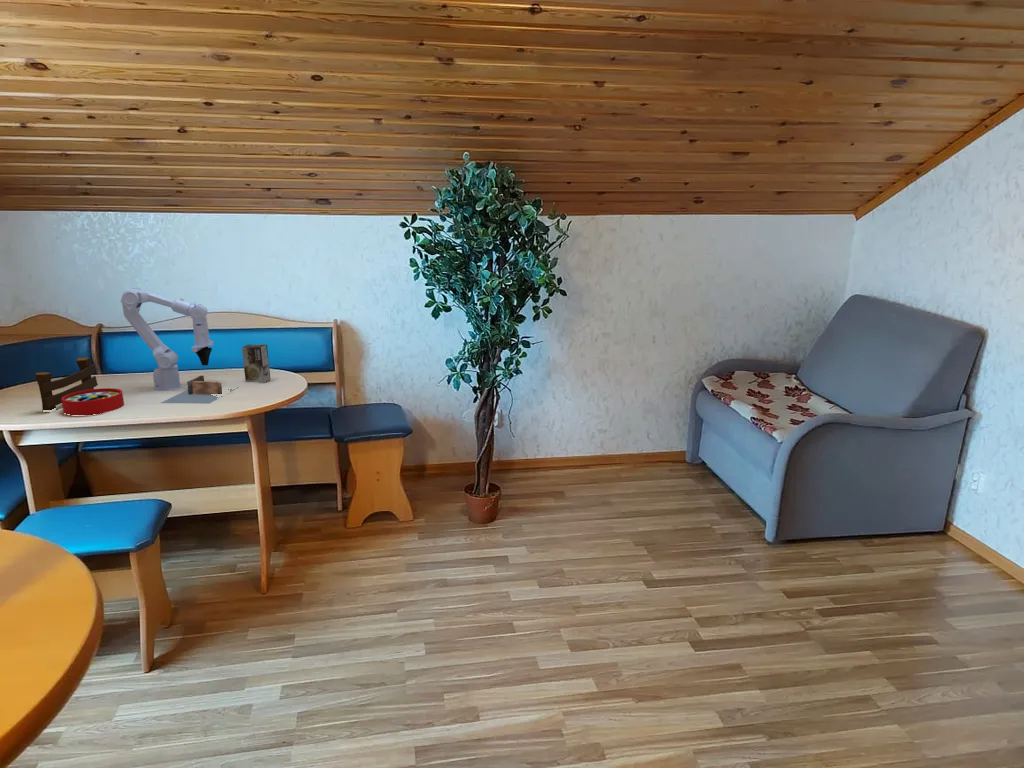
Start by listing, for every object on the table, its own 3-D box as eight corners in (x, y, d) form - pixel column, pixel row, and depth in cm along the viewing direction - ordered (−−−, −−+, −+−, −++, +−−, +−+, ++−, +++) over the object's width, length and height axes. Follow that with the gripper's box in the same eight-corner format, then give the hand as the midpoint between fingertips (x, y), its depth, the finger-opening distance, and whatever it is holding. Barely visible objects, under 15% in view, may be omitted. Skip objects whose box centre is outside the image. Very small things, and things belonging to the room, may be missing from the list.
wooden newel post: (192, 393, 280) (191, 382, 278) (194, 392, 281) (193, 381, 280) (221, 394, 278) (219, 382, 277) (223, 393, 280) (221, 381, 279)
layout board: (160, 403, 267) (160, 402, 267) (194, 387, 292) (194, 386, 292) (209, 404, 266) (209, 403, 266) (239, 387, 291) (239, 386, 291)
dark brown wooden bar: (187, 394, 280) (186, 382, 278) (201, 387, 291) (200, 375, 290) (191, 394, 280) (190, 382, 278) (205, 387, 291) (204, 375, 289)
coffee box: (271, 379, 305) (267, 344, 301) (264, 383, 299) (261, 347, 295) (251, 379, 306) (248, 344, 302) (244, 382, 300) (241, 346, 296)
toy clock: (133, 388, 269) (101, 401, 250) (135, 402, 271) (104, 417, 251) (83, 388, 270) (48, 401, 251) (86, 402, 271) (51, 416, 252)
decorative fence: (51, 413, 256) (44, 374, 252) (35, 414, 255) (28, 375, 252) (100, 390, 288) (95, 356, 285) (86, 391, 288) (81, 356, 284)
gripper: (201, 336, 281) (205, 369, 284) (218, 330, 295) (222, 361, 298) (185, 336, 282) (189, 368, 285) (203, 330, 296) (206, 361, 299)
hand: (205, 365), depth 292 cm, fingers closed
